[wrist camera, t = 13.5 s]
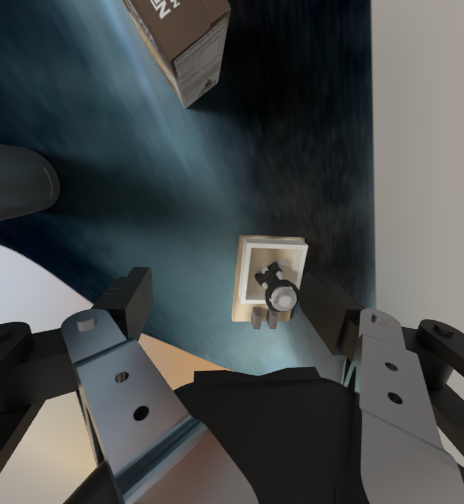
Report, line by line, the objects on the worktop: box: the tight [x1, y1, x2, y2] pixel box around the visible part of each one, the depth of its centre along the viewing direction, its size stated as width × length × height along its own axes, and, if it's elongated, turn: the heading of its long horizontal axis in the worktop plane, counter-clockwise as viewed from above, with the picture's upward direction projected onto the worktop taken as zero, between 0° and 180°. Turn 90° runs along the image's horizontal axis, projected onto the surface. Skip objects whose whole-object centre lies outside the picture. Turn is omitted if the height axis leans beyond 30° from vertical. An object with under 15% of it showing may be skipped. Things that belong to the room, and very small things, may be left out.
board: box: [232, 235, 305, 329], centre depth 42 cm, size 12×18×4 cm, turn 176°
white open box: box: [238, 238, 308, 304], centre depth 40 cm, size 11×12×3 cm
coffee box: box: [123, 0, 230, 108], centre depth 23 cm, size 9×6×16 cm
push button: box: [255, 258, 300, 312], centre depth 37 cm, size 7×5×10 cm
